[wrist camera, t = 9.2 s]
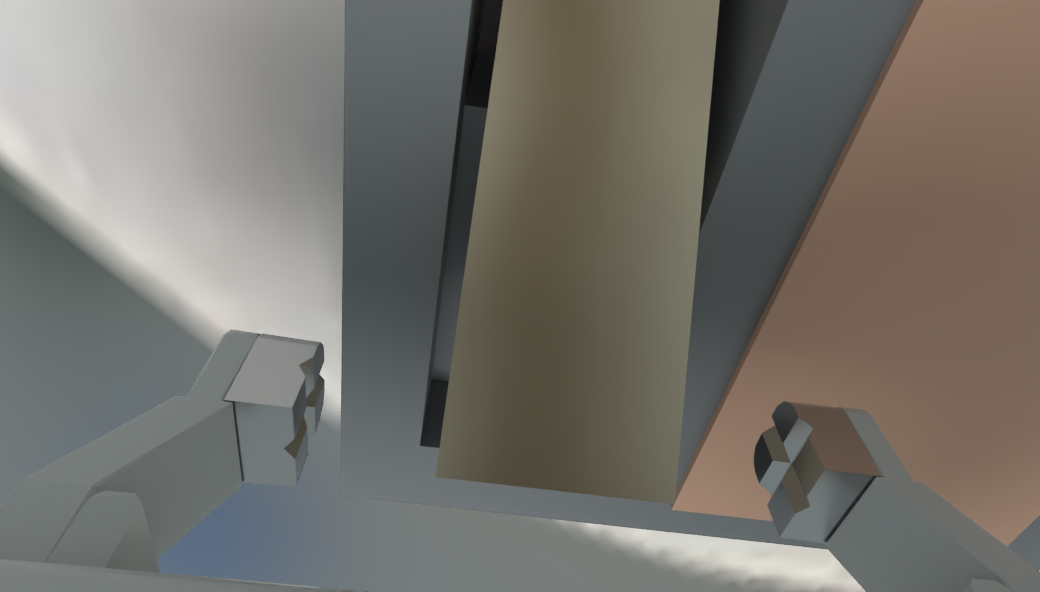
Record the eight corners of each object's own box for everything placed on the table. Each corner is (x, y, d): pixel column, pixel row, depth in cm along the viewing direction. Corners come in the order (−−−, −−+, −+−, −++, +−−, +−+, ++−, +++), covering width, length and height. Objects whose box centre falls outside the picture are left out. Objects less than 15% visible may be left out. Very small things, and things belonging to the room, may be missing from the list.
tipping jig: (1432, -279, 13) (2136, -373, 8) (920, 407, 25) (1041, 578, 19) (439, -537, 12) (349, -933, 6) (385, 335, 23) (338, 501, 17)
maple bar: (691, -125, 15) (739, -223, 13) (631, 480, 13) (674, 504, 11) (525, -160, 15) (540, -268, 12) (437, 457, 13) (435, 477, 10)
